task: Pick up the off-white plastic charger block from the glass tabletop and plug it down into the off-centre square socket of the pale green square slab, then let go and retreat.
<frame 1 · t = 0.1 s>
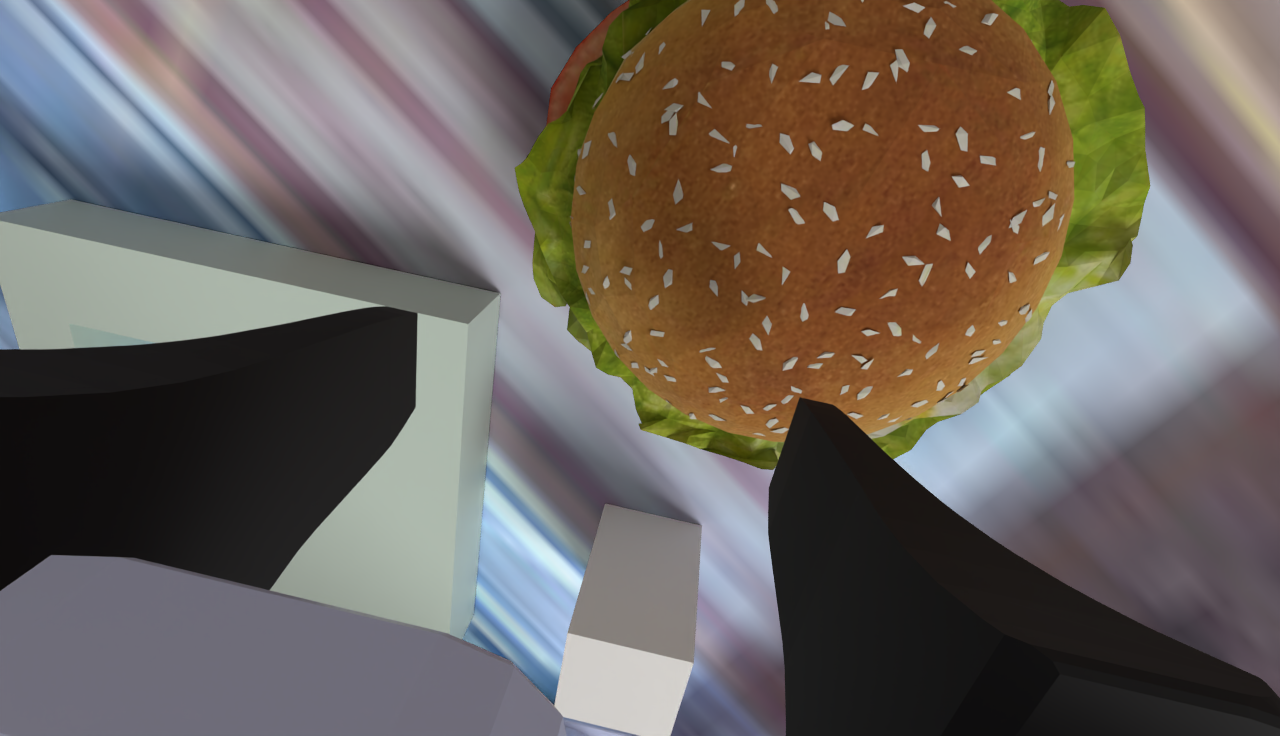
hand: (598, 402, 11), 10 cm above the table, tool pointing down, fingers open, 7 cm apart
charger block: (644, 551, 26), on the table
pale green square slab: (297, 433, 25), on the table
food: (794, 201, 19), on the table
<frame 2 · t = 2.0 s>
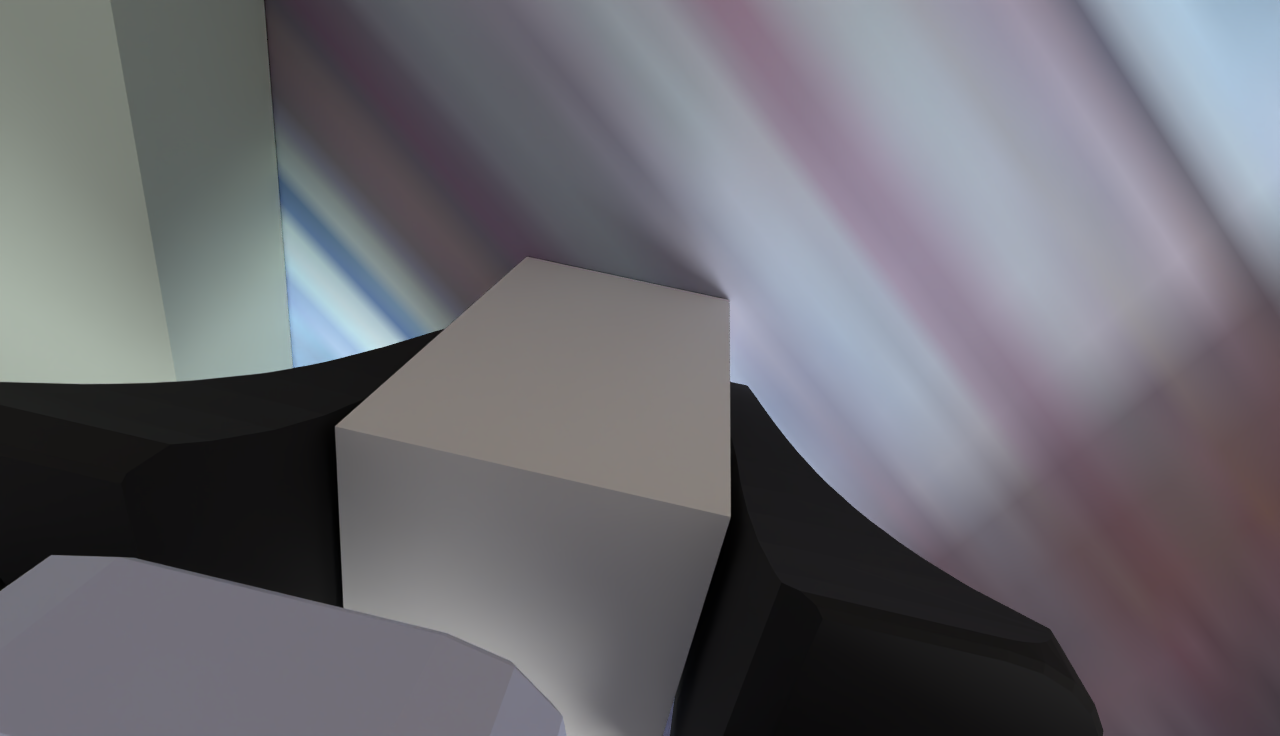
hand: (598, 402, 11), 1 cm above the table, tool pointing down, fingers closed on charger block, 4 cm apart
charger block: (611, 369, 13), on the table, touching gripper
when the fingers open (3 cm above the table, at t = 6.8 s): charger block drops 2 cm, resting in pale green square slab.
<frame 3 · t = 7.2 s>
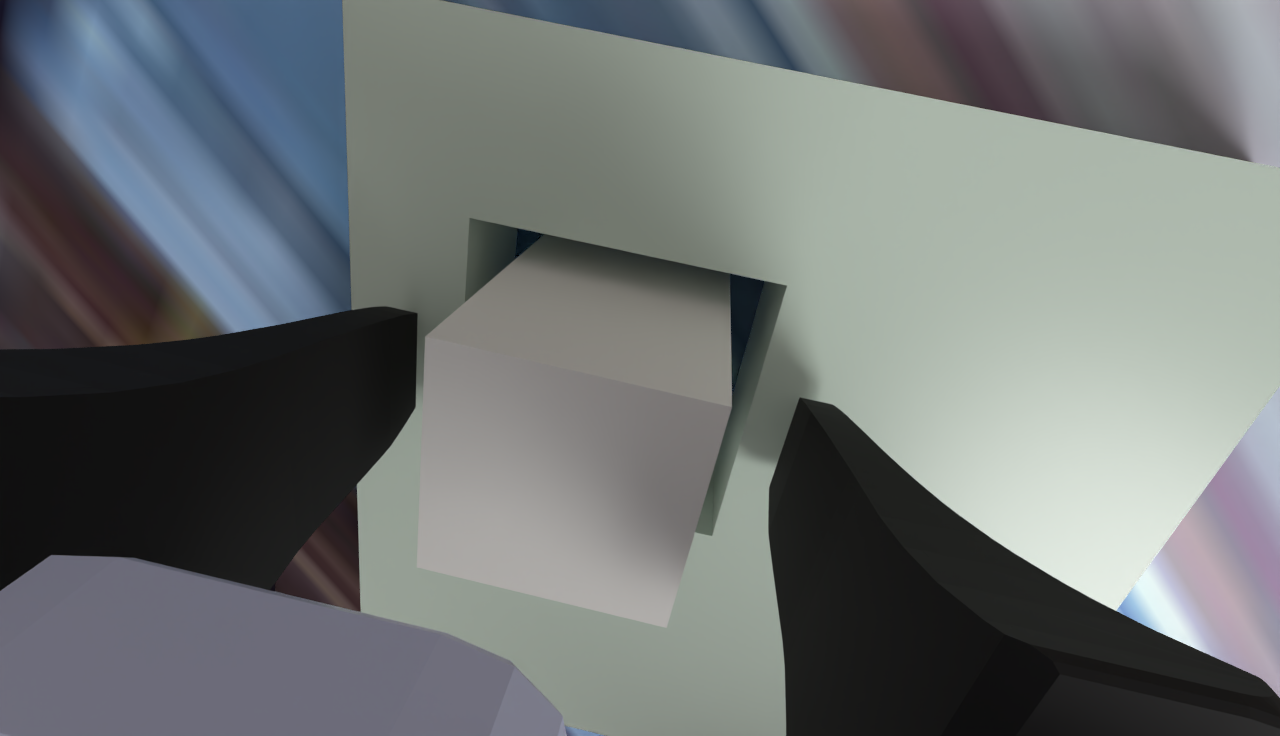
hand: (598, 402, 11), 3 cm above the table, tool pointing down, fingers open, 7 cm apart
charger block: (625, 327, 15), resting in pale green square slab
pale green square slab: (730, 432, 15), on the table
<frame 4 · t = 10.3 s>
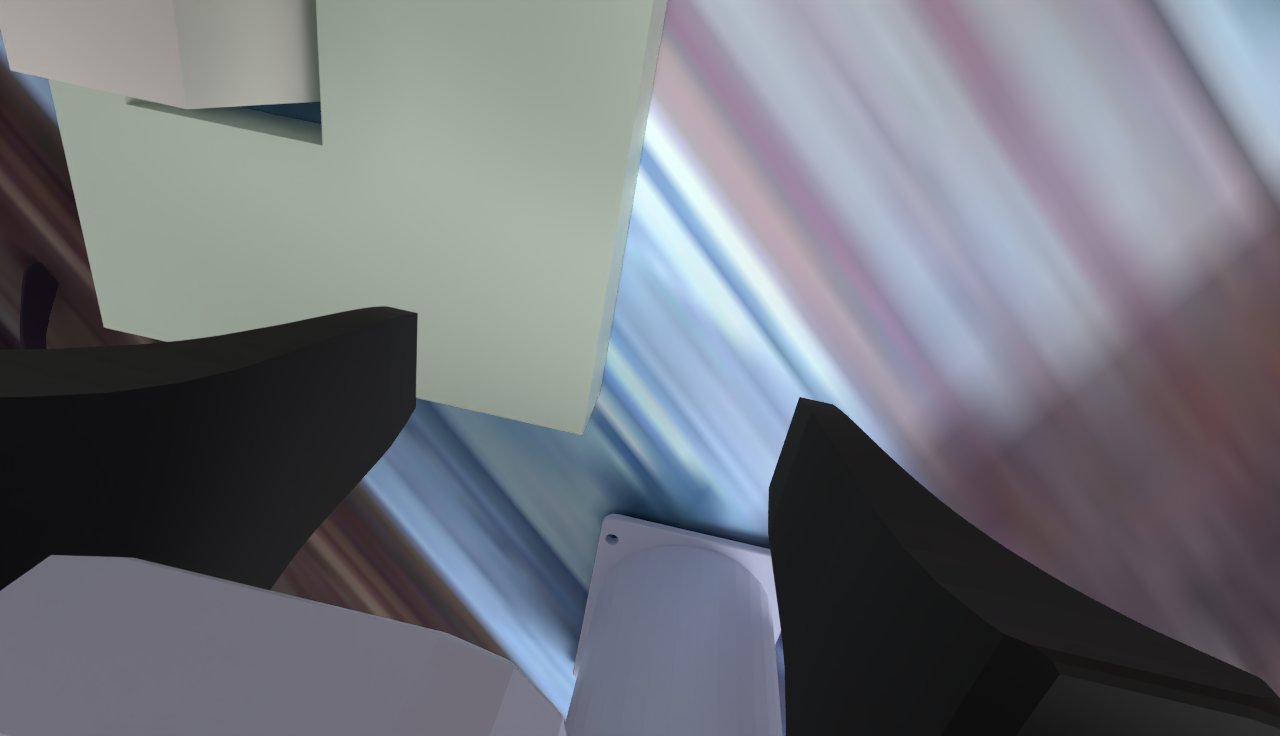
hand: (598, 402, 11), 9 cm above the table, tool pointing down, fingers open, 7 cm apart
sunglasses: (52, 435, 27), on the table
charger block: (287, 12, 18), resting in pale green square slab
pale green square slab: (385, 110, 19), on the table
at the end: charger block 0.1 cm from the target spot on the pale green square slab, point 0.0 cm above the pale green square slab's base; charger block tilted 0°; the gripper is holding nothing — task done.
